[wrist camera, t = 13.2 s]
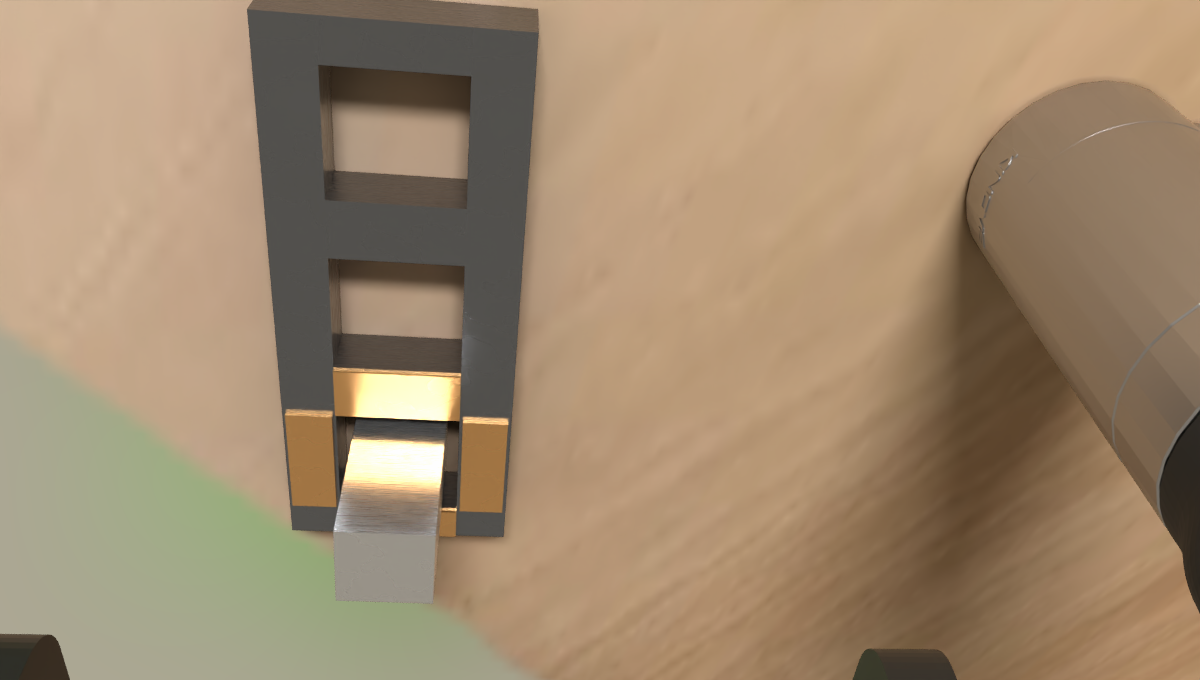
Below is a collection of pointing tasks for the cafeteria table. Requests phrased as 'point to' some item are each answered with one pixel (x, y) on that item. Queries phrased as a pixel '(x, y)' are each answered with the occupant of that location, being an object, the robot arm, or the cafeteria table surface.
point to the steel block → (390, 511)
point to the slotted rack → (394, 240)
